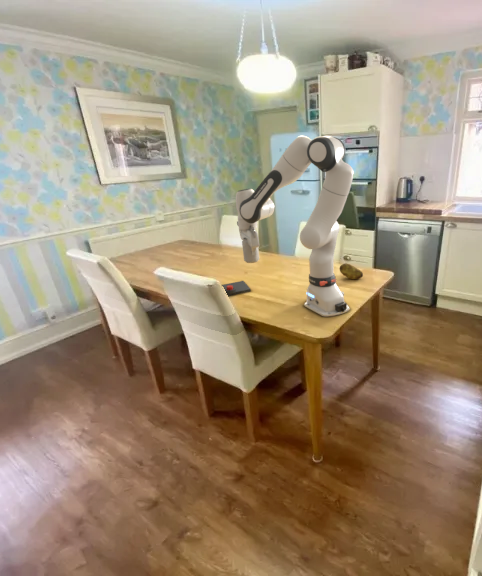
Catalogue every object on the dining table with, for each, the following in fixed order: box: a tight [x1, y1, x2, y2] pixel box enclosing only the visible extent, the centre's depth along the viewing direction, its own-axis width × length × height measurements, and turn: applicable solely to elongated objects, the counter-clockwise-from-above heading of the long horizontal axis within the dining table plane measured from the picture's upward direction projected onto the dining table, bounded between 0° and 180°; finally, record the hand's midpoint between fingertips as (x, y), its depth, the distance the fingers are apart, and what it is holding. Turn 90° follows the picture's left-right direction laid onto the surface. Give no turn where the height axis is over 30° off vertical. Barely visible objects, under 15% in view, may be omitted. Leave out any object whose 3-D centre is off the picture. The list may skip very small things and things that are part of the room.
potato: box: [339, 263, 364, 280], centre depth 179 cm, size 8×13×8 cm, turn 50°
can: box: [241, 238, 260, 264], centre depth 156 cm, size 8×8×12 cm
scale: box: [221, 280, 251, 297], centre depth 169 cm, size 15×13×3 cm
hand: (250, 252), depth 157 cm, fingers closed on can, 7 cm apart
